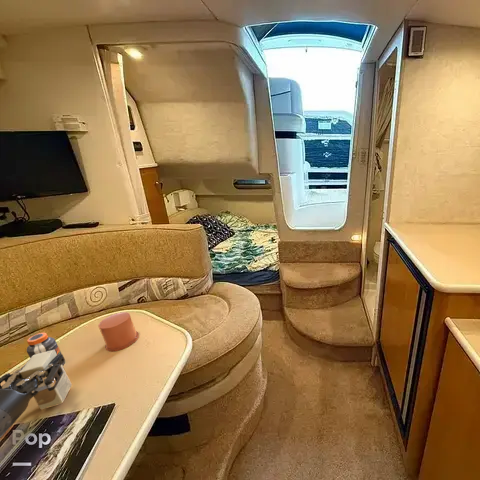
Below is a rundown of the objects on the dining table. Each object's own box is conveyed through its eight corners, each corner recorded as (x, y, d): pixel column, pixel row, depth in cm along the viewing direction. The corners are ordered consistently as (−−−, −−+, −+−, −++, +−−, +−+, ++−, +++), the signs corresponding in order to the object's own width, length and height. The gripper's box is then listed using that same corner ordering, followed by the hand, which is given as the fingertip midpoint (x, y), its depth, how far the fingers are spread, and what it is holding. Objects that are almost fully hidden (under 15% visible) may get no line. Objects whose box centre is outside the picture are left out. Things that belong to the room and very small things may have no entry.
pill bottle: (60, 371, 78) (44, 339, 75) (34, 378, 76) (16, 346, 72) (69, 357, 84) (54, 327, 80) (45, 363, 82) (28, 333, 78)
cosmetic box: (52, 390, 70) (33, 353, 66) (72, 384, 72) (55, 348, 68) (39, 411, 65) (18, 372, 61) (62, 404, 66) (42, 365, 62)
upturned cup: (99, 354, 84) (90, 331, 81) (114, 335, 93) (105, 314, 90) (132, 348, 86) (123, 326, 83) (143, 330, 94) (136, 309, 91)
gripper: (21, 399, 52) (76, 341, 68) (-71, 418, 49) (8, 352, 65) (37, 426, 54) (86, 364, 70) (-50, 446, 52) (21, 376, 67)
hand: (48, 359), depth 67 cm, fingers closed on cosmetic box, 5 cm apart
